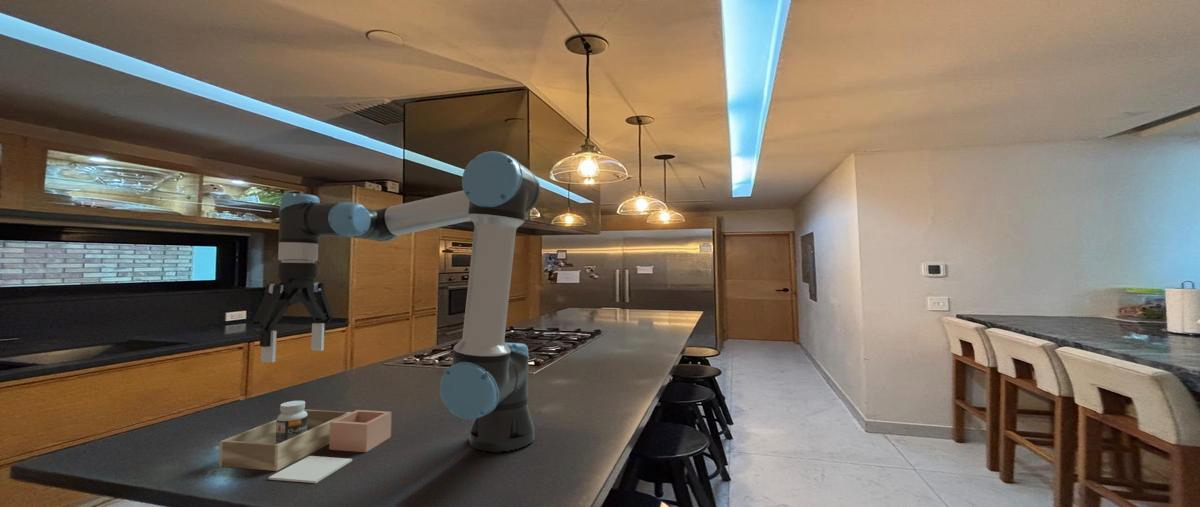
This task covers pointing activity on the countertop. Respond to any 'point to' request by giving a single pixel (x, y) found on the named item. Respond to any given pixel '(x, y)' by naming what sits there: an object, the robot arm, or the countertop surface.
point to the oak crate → (265, 455)
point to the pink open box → (360, 430)
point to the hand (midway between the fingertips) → (294, 355)
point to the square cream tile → (310, 469)
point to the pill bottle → (291, 420)
